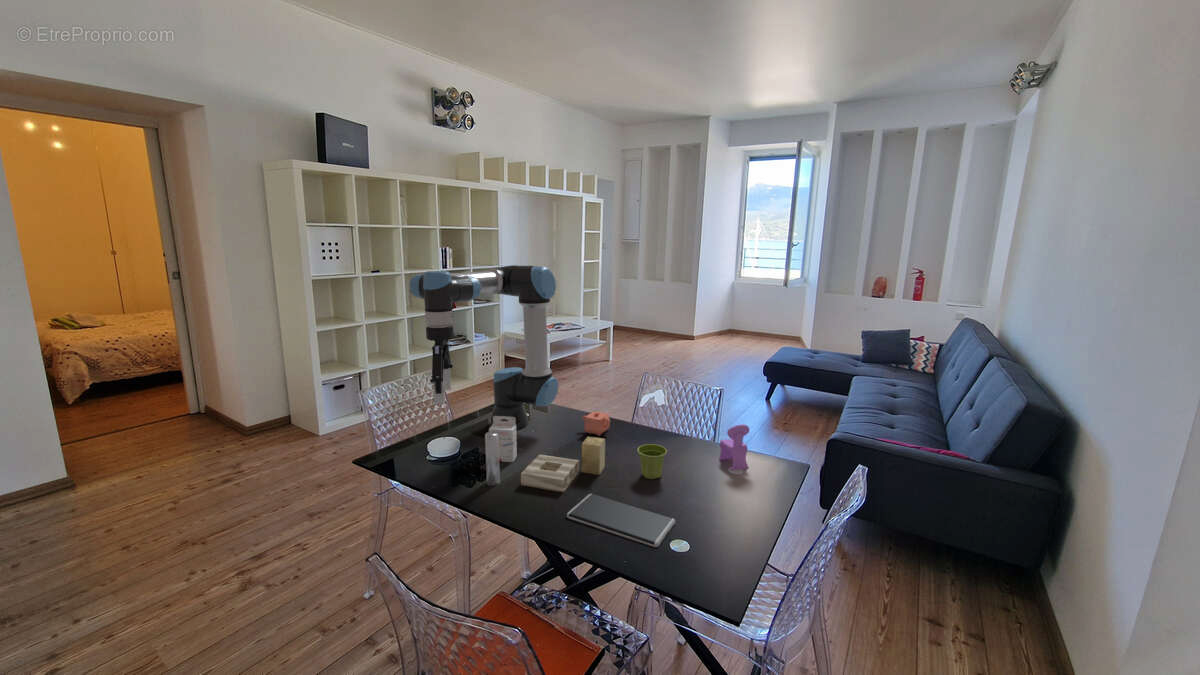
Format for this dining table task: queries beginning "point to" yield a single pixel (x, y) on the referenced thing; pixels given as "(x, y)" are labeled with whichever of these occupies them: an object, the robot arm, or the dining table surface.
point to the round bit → (492, 458)
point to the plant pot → (651, 460)
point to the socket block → (550, 473)
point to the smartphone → (622, 519)
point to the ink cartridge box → (505, 437)
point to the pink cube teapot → (596, 422)
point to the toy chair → (735, 447)
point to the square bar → (593, 455)
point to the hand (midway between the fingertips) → (443, 396)
